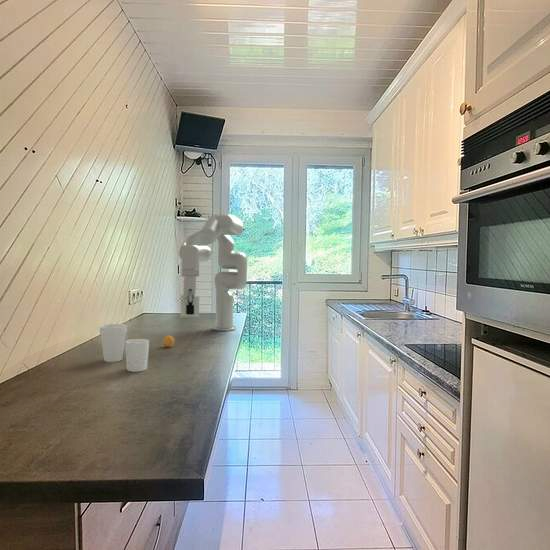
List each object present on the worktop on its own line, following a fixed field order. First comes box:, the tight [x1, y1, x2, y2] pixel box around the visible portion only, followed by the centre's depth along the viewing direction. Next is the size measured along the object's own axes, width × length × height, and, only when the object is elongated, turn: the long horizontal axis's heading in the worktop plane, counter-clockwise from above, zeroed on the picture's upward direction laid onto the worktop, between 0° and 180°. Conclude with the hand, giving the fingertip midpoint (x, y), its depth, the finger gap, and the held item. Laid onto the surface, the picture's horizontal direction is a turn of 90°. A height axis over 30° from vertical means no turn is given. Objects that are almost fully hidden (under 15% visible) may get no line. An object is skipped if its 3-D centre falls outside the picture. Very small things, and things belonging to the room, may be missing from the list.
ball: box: [162, 335, 175, 348], centre depth 172 cm, size 5×5×5 cm
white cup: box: [124, 338, 150, 373], centre depth 138 cm, size 8×8×10 cm
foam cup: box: [99, 323, 128, 363], centre depth 149 cm, size 10×9×13 cm
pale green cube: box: [180, 294, 200, 318], centre depth 174 cm, size 8×8×9 cm
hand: (189, 312), depth 174 cm, fingers closed on pale green cube, 7 cm apart
